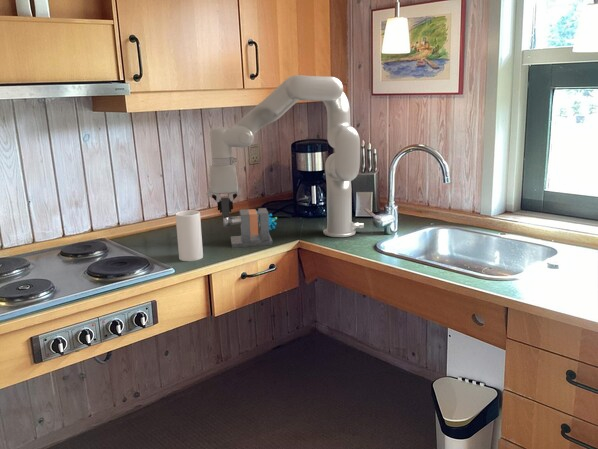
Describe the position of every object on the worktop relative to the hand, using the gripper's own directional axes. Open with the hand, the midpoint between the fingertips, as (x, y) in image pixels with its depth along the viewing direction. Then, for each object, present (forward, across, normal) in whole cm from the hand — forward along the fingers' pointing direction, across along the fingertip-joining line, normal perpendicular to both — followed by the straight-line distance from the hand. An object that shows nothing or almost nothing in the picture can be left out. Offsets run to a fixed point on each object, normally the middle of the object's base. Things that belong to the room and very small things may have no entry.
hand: (225, 211), depth 204 cm
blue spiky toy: (+13, -17, -18) cm, 28 cm away
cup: (+13, +13, +13) cm, 23 cm away
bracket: (+13, -9, 0) cm, 16 cm away
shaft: (+6, -5, 0) cm, 7 cm away
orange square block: (+5, -10, 0) cm, 11 cm away
